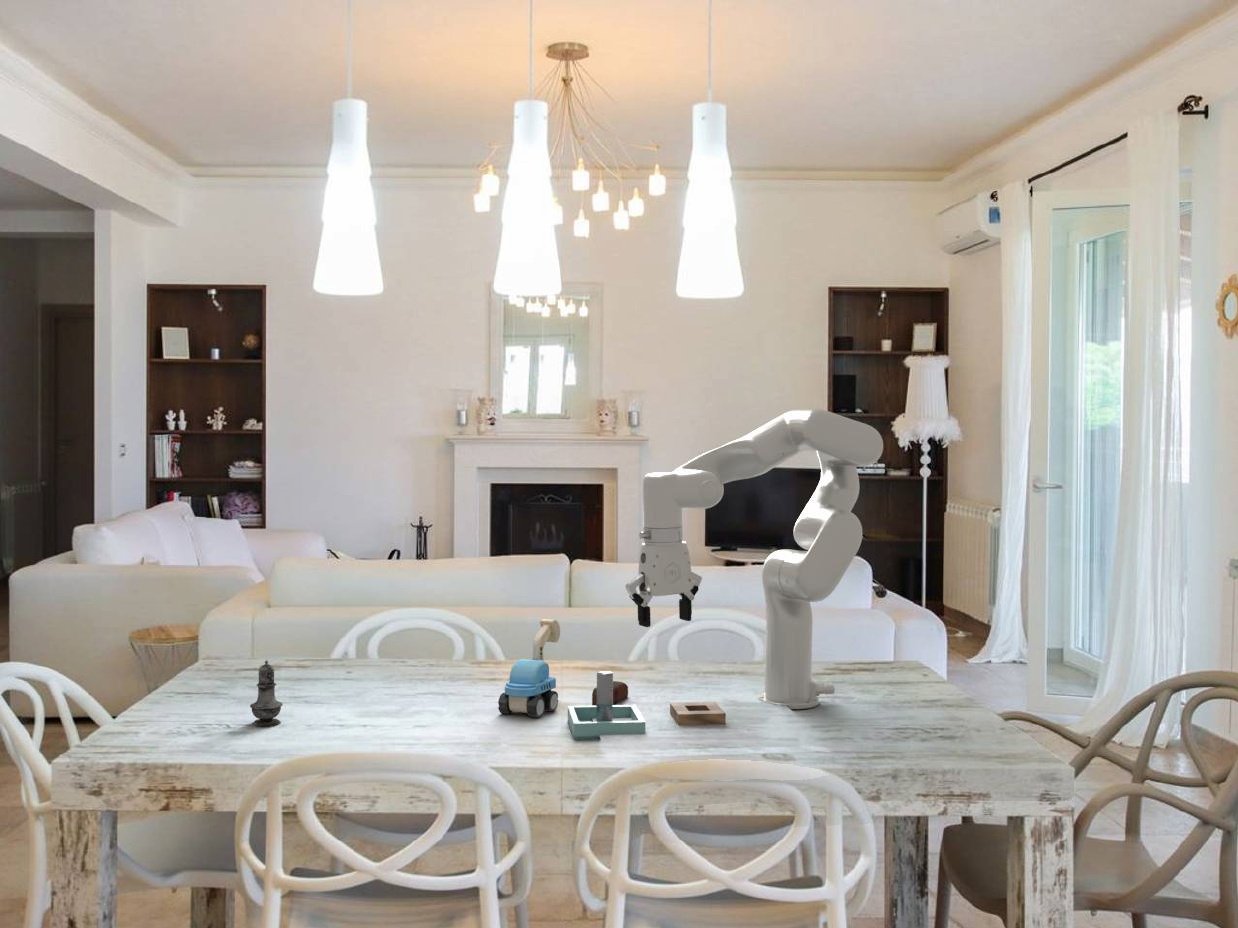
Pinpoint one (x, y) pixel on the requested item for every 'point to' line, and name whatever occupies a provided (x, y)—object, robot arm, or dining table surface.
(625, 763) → the dining table surface
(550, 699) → the toy excavator
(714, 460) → the robot arm
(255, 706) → the salt shaker
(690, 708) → the wooden square frame
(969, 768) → the dining table surface
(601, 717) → the pin
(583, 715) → the tray
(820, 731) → the dining table surface
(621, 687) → the brick
